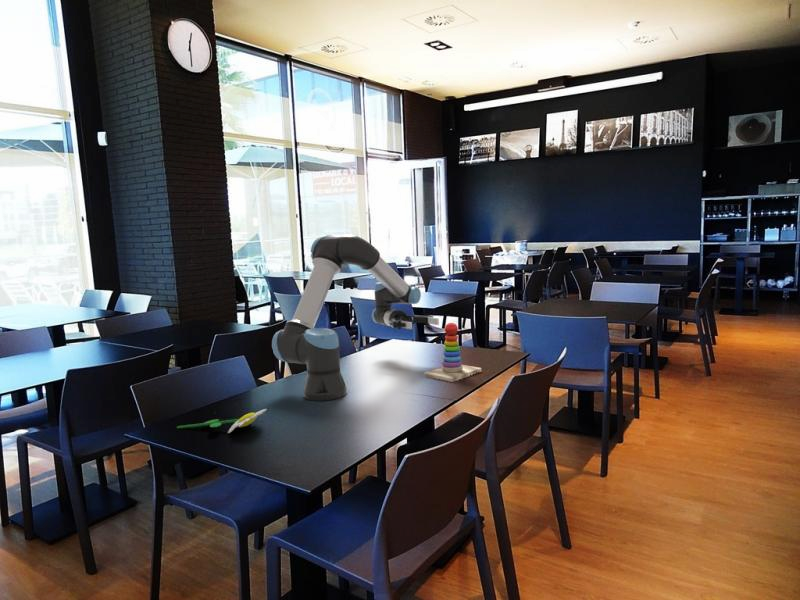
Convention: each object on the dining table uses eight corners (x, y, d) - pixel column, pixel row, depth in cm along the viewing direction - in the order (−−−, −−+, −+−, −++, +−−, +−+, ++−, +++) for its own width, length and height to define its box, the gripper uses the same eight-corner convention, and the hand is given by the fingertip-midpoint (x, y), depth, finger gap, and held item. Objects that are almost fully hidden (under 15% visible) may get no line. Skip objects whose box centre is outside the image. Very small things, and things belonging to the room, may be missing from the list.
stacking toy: (463, 372, 212) (461, 324, 209) (442, 373, 212) (440, 325, 209) (461, 367, 219) (459, 320, 217) (441, 368, 220) (439, 321, 217)
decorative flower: (166, 443, 164) (257, 433, 157) (163, 427, 164) (254, 416, 157) (191, 430, 176) (277, 420, 169) (188, 415, 176) (274, 404, 169)
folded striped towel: (452, 382, 205) (451, 378, 204) (424, 376, 214) (424, 372, 214) (481, 371, 217) (481, 368, 217) (453, 366, 227) (453, 363, 227)
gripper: (419, 323, 249) (449, 328, 232) (372, 330, 236) (399, 337, 218) (418, 307, 249) (448, 311, 231) (371, 313, 235) (399, 318, 217)
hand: (424, 323), depth 225 cm, fingers open, 13 cm apart
